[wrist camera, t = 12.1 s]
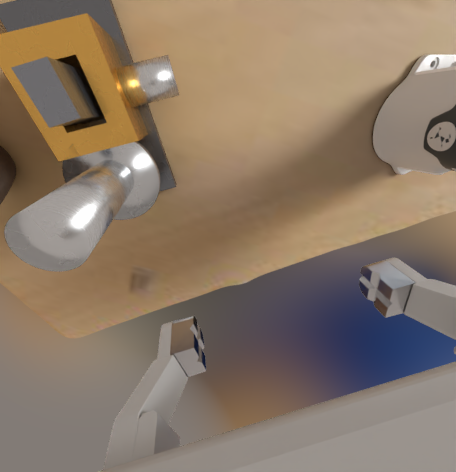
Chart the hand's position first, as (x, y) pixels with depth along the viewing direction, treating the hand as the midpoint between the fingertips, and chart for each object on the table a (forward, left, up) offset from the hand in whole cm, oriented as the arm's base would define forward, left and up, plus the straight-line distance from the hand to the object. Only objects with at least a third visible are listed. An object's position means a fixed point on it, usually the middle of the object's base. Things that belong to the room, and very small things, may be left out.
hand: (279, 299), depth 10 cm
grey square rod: (+13, -12, -30) cm, 34 cm away
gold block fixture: (+11, -10, -31) cm, 34 cm away
